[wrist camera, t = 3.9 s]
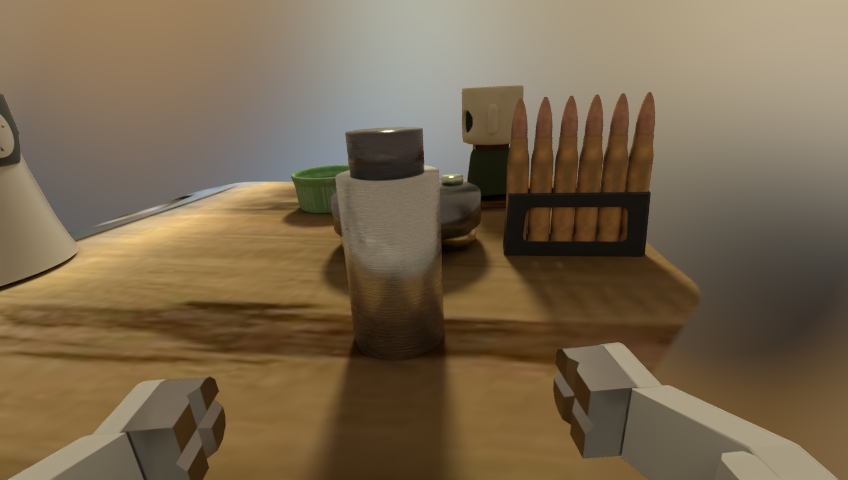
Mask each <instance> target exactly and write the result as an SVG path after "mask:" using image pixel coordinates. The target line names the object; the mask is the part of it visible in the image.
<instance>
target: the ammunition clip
mask: <svg viewBox="0 0 848 480" xmlns="http://www.w3.org/2000/svg"><path fill="white" fill-rule="evenodd" d="M654 125H655V106H654V99H653V96H652V93H651V92H649V93H647V95H646V97H645V98H644V100H643V103H642V105H641V108H640V111H639V115H638V118H637V122H636V129H635V134H634V139H633V144H632V148H631V150H630V154H629V157H628V150H627V141H628V126H629V111H628V102H627V98H626V96H625V94H624V93H623V94H621V96H620V97H619V99H618V101H617V104H616V106H615V110H614V112H613V117H612V121H611V126H610V134H609V138H608V144H607V148H606V152H605V155H604V160H603V153H602V131H603V110H602V104H601V100H600V97H599V95H595V97H594V99H593V101H592V103H591V106H590V109H589V112H588V116H587V121H586V127H585V136H584V141H583V147H582V151H581V154H580V160H579V170H578V181H577V169H578V152H577V130H578V116H577V108H576V103H575V100H574V97H573V96H570V97H569V99H568V101H567V103H566V106H565V109H564V113H563V118H562V123H561V132H560V138H559V148H558V151H557V155H556V161H555V176H554V188H552V175H553V151H552V113H551V108H550V103H549V100H548V98H547V97H544V99H543V101H542V103H541V106H540V109H539V113H538V118H537V125H536V135H535V136H536V137H535V142H534V151H533V154H532V159H531V177H530V188H529V189H528V179H529V154H528V138H527V115H526V109H525V105H524V102H523V100H522V98H519V100H518V102H517V104H516V107H515V110H514V115H513V120H512V128H511V140H510V151H509V155H508V162H507V193H506V215H505V228H504V241H503V250H504V254H505V255H520V256H631V257H642V256H643V255H645V246H646V236H647V225H648V215H649V203H650V194H651V193H650V192H649V185H650V178H651V171H652V164H653V137H654V134H653V133H654ZM602 162H603V169H602ZM627 162H628V164H627ZM626 170H627V172H626ZM601 172H602V178H601ZM625 178H626V179H625ZM576 181H577V188H576ZM600 183H601V187H600ZM551 207H552V217H551V231H550V234H549V227H550V210H551ZM574 207H575V213H574ZM528 210H529V216H528V234H526V232H527V211H528ZM597 213H598V214H597ZM573 219H574V224H573ZM572 232H573V234H572Z"/></svg>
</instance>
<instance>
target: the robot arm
mask: <svg viewBox="0 0 848 480" xmlns="http://www.w3.org/2000/svg"><path fill="white" fill-rule="evenodd" d="M18 134H19V132H18V130H17V127H16V125H15V122H14V119H13V115H12V112H11V110H10V109H9V108H8V105H7V103H6V101H5V98H4V96H3V94H1V93H0V286H2V285H6V284H9V283H12V282H15V281H18V280H21V279H23V278H26V277H29V276H32V275H34V274H37V273H40V272H42V271H44V270H47V269H49V268H51V267H54V266H56V265H58V264H60V263H62V262H64V261H65V260H67V259H69V258H70V257H72V256H73V255H74V254H76V253H77V252H78V250H79V246H78V244H77V243H76V242H75V241H74V240H73V239H72V237H71V236H70V235H69V233H68V232H67V231H66V230H65V228H64V227H63V225H62V224H61V223H60V221H59V220H58V218H57V217H56V215H55V213H54V212H53V210H52V209H51V207H50V205H49V204H48V202H47V200H46V198H45V197H44V195H43V193H42V191H41V189H40V188H39V186H38V184H37V182H36V180H35V179H34V177H33V175H32V174H31V172H30V170H29V168H28V167H27V165H26V163H25V161H24V159H23V156H22V155H21V152H20V144H19V138H18ZM555 364H556V366H557V367H558V369H559V371H560V372H559V373H558V374H557V375H556V377H555V378H554V386H553V391H554V398H555V403H556V406H557V409H558V412H559V414H560V416H561V418H562V419H563V420H564V421H566V422H567V423H569V424H570V425H571V430H570V435H571V437H572V439H573V441H574V443H575V444H576V446H577V448H578V450H579V452H580V454H581V456H582V458H598V457H613V456H621V458H622V459H623V460H624V461H625V462H627V463H628V464H629V465H631V466H632V467H633V468H634V469H636V470H637V471H639V472H640V473H641V474H642V475H643V476H644V477H646V478H647V479H648V480H838V479H837V478H836V477H835V476H834V475H832V474H831V473H830V472H829V471H828V470H827V469H825V468H824V467H823V466H822V465H821V464H819V462H817V461H816V460H815V459H814V458H813V457H812V456H810V455H809V454H808V453H807V452H806V451H805V450H803V449H802V448H801V447H800V446H799V445H797V444H795V443H793V442H791V441H789V440H787V439H785V438H782V437H780V436H778V435H776V434H774V433H772V432H769V431H767V430H765V429H763V428H760V427H759V426H756V425H754V424H752V423H750V422H748V421H745V420H743V419H741V418H739V417H737V416H735V415H732V414H730V413H728V412H726V411H724V410H722V409H719V408H717V407H715V406H713V405H711V404H708V403H706V402H704V401H702V400H700V399H698V398H695V397H693V396H691V395H689V394H686V393H685V392H682V391H680V390H678V389H676V388H674V387H671V386H669V385H668V386H662V385H661V384H660V383H659V382H658V381H657V380H656V379H655V378H654V376H653V375H652V374H651V373H650V372H649V371H648V370H647V369H646V368H645V367H644V366H643V365H642V364H641V363H640V361H639V360H638V359H637V358H636V357H635V356H634V355H633V354H632V353H631V352H630V351H629V350H628V349H627V348H626V347H625V345H623V344H621V343H619V342H618V343H609V344H600V345H596V346H585V347H574V348H562V349H558V350H557V353H556V358H555ZM218 392H219V390H218V387H217V384H216V381H215V379H213V378H212V377H195V378H178V379H167V380H164V379H163V380H150V381H144V382H141V383H139V384H137V386H136V387H135V388H134V389H133V390H132V391H131V392H130V393H129V394H128V396H127V397H126V398H125V399H124V400H123V401H122V402H121V403H120V404H119V406H118V407H117V408H116V409H115V410H114V411H113V412H112V413H111V414H110V415H109V417H108V418H107V419H106V420H105V421H104V422H103V423H102V424H101V425H100V427H99V428H98V429H97V430H96V431H95V432H94V433H93V434H92V435H90V436H83V437H81V438H80V439H78V440H76V441H74V442H73V443H71V444H69V445H67V446H66V447H64V448H62V449H60V450H59V451H57V452H55V453H54V454H52V455H50V456H48V457H47V458H45V459H43V460H41V461H40V462H38V463H36V464H34V465H33V466H31V467H29V468H27V469H26V470H24V471H22V472H20V473H19V474H17V475H15V476H14V477H12V478H10V479H8V480H203V478H204V476H205V474H206V473H207V471H208V469H209V466H208V462H207V458H209V457H210V456H211V455H212V454H214V453H215V452H216V451H217V450H218V448H219V446H220V444H221V442H222V440H223V436H224V431H225V426H226V423H225V413H224V409H223V406H222V405H220V404H219V403H218V402H217V401H216V400H214V399H215V397H216V395H217V393H218Z"/></svg>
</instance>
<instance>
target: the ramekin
mask: <svg viewBox="0 0 848 480" xmlns="http://www.w3.org/2000/svg"><path fill="white" fill-rule="evenodd" d="M348 170H349V165H334V166H323V167H315V168H309V169H304V170H300V171H297V172H294V173H293V174H292V175H291V178H292V180H293V182H294V185H295V188H296V193H297V197H298V202H299V206H300V208H301V209H302V210H303V211H305V212H308V213H315V214H329V213H332V209H331V201H330V199H331V196H332V195H333V194H335V193H336V192H337V188H336V180H335V177H336V175H338V174H339V173H342V172H344V171H348Z"/></svg>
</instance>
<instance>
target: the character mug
mask: <svg viewBox="0 0 848 480" xmlns="http://www.w3.org/2000/svg"><path fill="white" fill-rule="evenodd" d="M519 98H522V100H523V86H521V85H520V86H519V85H518V86H494V87H477V88H463V89H462V135H463V136H462V137H463V141H464V142H465V143H468V144H473V151H472V153H471V156H470V164H469V172H468V181H467V182H468V183H471V184H474V185H476V186H477V187H479V188H480V190H481V196H486V195H489V198H493V197H494V195H496V194H506V193H507V162H508V155H509V151H510V148H509V144H510V140H511V128H512V120H513V115H514V110H515V107H516V104H517V102H518V100H519Z"/></svg>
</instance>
